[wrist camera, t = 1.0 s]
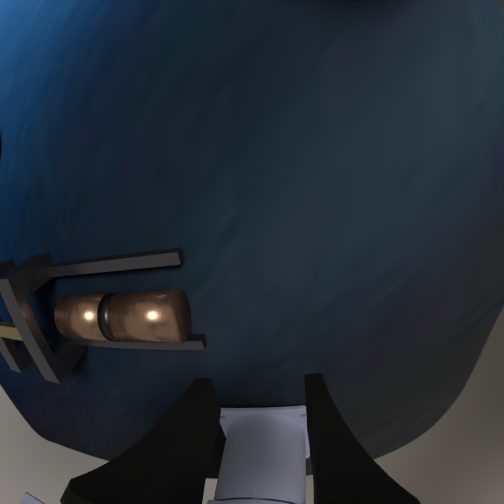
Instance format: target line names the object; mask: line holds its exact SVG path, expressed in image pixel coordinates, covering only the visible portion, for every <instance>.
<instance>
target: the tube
mask: <svg viewBox="0 0 504 504" xmlns="http://www.w3.org/2000/svg"><path fill="white" fill-rule="evenodd" d="M54 317H55V323H56V326H57V329H58V331H59V332H60V333H61V334H62V335H63V336H64V337H66V338H71V339H83V340H97V341H114V342H139V343H184V342H185V341H186V340H187V339H188V336H189V333H190V328H191V312H190V306H189V302H188V299H187V297H186V295H185V293H184V292H183V291H182V290H180V289H176V290H161V291H145V292H128V293H109V294H87V295H65V296H63V297H61V298H60V299H59V301H58V302H57V304H56V307H55V313H54Z"/></svg>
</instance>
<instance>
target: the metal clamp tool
mask: <svg viewBox="0 0 504 504" xmlns="http://www.w3.org/2000/svg"><path fill="white" fill-rule="evenodd" d="M184 260H185V259H184V255H183V251H182V248H174V249H166V250H157V251H149V252H141V253H133V254H125V255H118V256H110V257H102V258H94V259H87V260H79V261H72V262H64V263H57V264H52V262H51V259H50V256H49V253H44V254H38V255H34V256H33V257H31V258H29V259H28V260H26V261H24V262H23V263H21V264H20V265H18V266H16V267H15V266H14V263H13V260H12V259H11V260H6V261H2V262H1V263H0V292H1V295H2V297H3V300H4V302H5V304H6V307H7V309H8V311H9V313H10V316H11V318H12V320H13V322H14V323H6V322H3V321H2V319H1V317H0V351H1V353H2V355H3V356H4V358H5V360H6V361H7V363H8V365H9V366H10V368H11V370H14V371H17V372H20V373H22V372H23V371H24V370H25V369H26V368H27V367H28V365H29V364H30V363H31V362H32V361H33V360H34V362H35V363H36V365H37V367H38V368H39V370H40V372H41V373H42V375H43V376H44V378H45V380H48V381H52V382H56V383H61V382H62V381H63V379H64V378H65V377H66V375H67V374H68V373H69V372H70V370H71V369H72V368H73V366H74V365H75V364H76V363H77V361H78V360H79V359H80V358H81V356H82V355H83V354H84V353H85V351H86V350H87V349H88V348H87V346H96V347H110V348H126V349H150V350H205V348H206V345H207V341H206V338H205V334H202V335H189V336H188V339H187V340H186V341H185V342H184V343H139V342H114V341H97V340H83V339H71V338H66V337H64V336H63V335H62V334H60V335H59V336H58V337H57V338H56V339H55V340H54V341H53V342H52V344H51V345H50V346H49V345H48V343H47V341H46V339H45V337H44V335H43V333H42V331H41V329H40V328H39V326H38V323H37V321H36V319H35V317H34V315H33V313H32V310H31V308H30V306H29V304H28V301H27V299H26V298H27V297H28V296H29V295H31V294H32V293H33V292H35V291H36V290H37V289H38V288H40V287H41V286H42V285H44V284H45V283H46V282H48V281H49V280H51V279H52V278H53V277H57V276H68V275H78V274H89V273H99V272H110V271H120V270H130V269H140V268H150V267H160V266H170V265H180V264H181V263H182V262H183V261H184ZM12 339H16V340H15V341H14V342H13V341H12Z"/></svg>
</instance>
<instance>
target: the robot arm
mask: <svg viewBox="0 0 504 504" xmlns="http://www.w3.org/2000/svg"><path fill="white" fill-rule="evenodd" d="M304 376H305V396H306V406H303V405H302V406H289V407H269V408H220V405H219V402H218V399H217V397H216V394H215V391H214V388H213V385H212V382H211V379H207V378H196V379H195V380H194V381H193V382H192V384H191V385H190V386H189V387H188V389H187V390H186V391H185V392H184V394H183V395H182V396H181V397H180V399H179V400H178V401H177V402H176V403H175V405H174V406H173V407H172V408H171V409H170V410H169V412H168V413H167V414H166V415H165V416H164V417H163V418H162V419H161V420H160V421H159V422H158V423H157V424H156V425H155V426H154V427H153V428H152V429H151V430H150V431H149V432H148V433H147V434H146V435H145V436H144V437H143V438H142V439H140V440H139V441H138V442H137V443H136V444H134V445H133V446H132V447H130V448H129V449H128V450H126V451H125V452H123V453H122V454H121V455H119V456H118V457H116V458H115V459H113V460H111V461H109V462H108V463H106V464H104V465H102V466H101V467H98V468H97V469H94V470H92V471H90V472H88V473H86V474H83V475H81V476H78V477H76V478H73V479H71V480H70V482H69V484H68V486H67V488H66V490H65V491H64V493H63V496H62V497H61V500H60V502H61V504H202V500H203V493H204V485H205V480H206V476H207V471H208V468H209V464H210V461H211V457H212V453H213V450H214V446H215V442H216V439H217V435H218V431H219V424H221V427H222V429H223V432H224V434H225V436H226V442H225V447H224V452H223V457H222V462H221V467H220V472H219V477H218V481H217V486H216V491H215V496H214V500H208V503H207V504H306V458H308V457H310V455H311V462H312V470H313V479H314V504H421V503H420V502H419V500H418V499H417V498H416V497H415V496H413V495H412V494H410V493H409V492H408V491H406V490H405V489H404V488H403V487H401V486H400V485H399V484H398V483H397V482H396V481H394V480H393V479H392V478H391V477H390V476H389V475H388V474H387V473H386V472H385V471H384V470H383V469H382V468H381V467H380V466H379V465H378V464H377V463H376V462H375V461H374V460H373V459H372V458H371V457H370V455H369V454H368V453H367V452H366V451H365V449H364V448H363V447H362V446H361V444H360V443H359V442H358V440H357V439H356V438H355V436H354V435H353V434H352V432H351V431H350V429H349V427H348V426H347V424H346V423H345V421H344V420H343V418H342V416H341V414H340V413H339V411H338V409H337V407H336V405H335V404H334V402H333V400H332V397H331V395H330V393H329V391H328V388H327V386H326V383H325V380H324V376H323V375H322V374H321V373H317V374H307V375H304ZM19 504H44V503H43V502H41V501H40V500H38V499H37V498H35V497H33V496H32V495H31V494H29V493H27V492H25V494H24V496H23V498H22V499H21V501H20V503H19Z"/></svg>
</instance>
